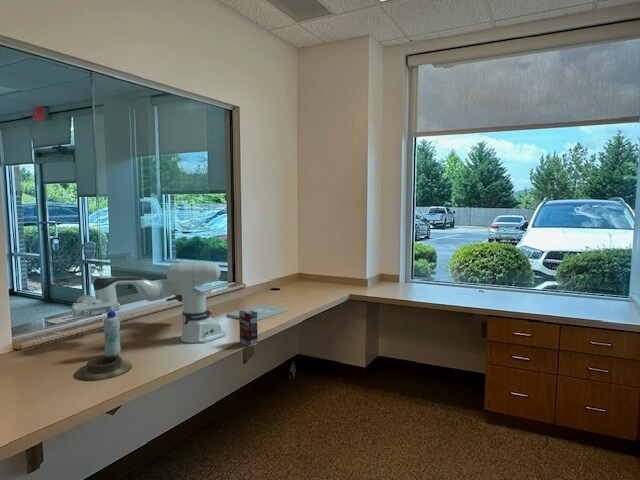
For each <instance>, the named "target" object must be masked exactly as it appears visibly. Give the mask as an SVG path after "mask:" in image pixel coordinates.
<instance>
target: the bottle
mask: <svg viewBox="0 0 640 480" xmlns="http://www.w3.org/2000/svg"><path fill="white" fill-rule="evenodd" d="M116 313H117V312H116V311H110V312H107V313H106V314H107V315H106V316H107V317H106V318H103V319H104V320H103V326H102V328H103V331H104V356H111V355H114V356H119V355H120V354H121V351H122V350H121V349H122V348H121V342H120V329H121V324H120V323H121V321H120V319H119V317H118V316H116V315H117V314H116Z"/></svg>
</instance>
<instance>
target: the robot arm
mask: <svg viewBox="0 0 640 480" xmlns="http://www.w3.org/2000/svg"><path fill="white" fill-rule="evenodd" d="M221 273H222V272H221V267H220V266H219V264H218V263H217V262H213V261H207V260H206V261H205V260H204V261H203V260H202V261H177V262H174V263H170V265H168V267H167V269H166V273H165V274H166V278H167V279H166V278H165V279H157V280H155V279H154V280H149V279H147V278H146V277H145V276H140V275H139V276H130V275H129V276H127V275H126V276H124V275H123V276H119V275H118V276H113V275H112V276H111V275H101V276H97V277H96V278H95V279H94V281H93V283H92V286H93V290H94V295H95V297H94V296H93V295H89V294H83V295H81V296H79V297H78V298H77V299H76V302H73V303H72V306H71V312H72V313H71V314H72V317H73V318H80V317H92V318H93V317H97V316H99V315H100V314H107V313H108V312H110V311H114V312H118V311H120V310H121V304H120V302H118V298H117V297H118V296H117V290H116V285H133V286H134V287H135V289H136V290H137V292H138V293H139V296H140V297H141V298H142V299H144V300H145V301H147V302H155V301H159V300H164V299H168V298H169V297H172V296H173V298H172V299H175V300H176V301H178V302H180V303H182V308H183V310H182V316H181V317H182V331H181V336H180V341H181V342H183V343H192V344H193V343H195V344H196V343H197V344H199V343H200V344H203V343H204V344H205V343H208V342H211V341H215V340H217V339H219V338H223V337H226V336H227V332H226V331H225V330H223V329H222V326H221V325H222V324H221V323H220V322H219V321H218V320H216V319H214V318H213V317H211V316H213V315H214V311H213V310H208V309H207V296H206V294H205V293H204V291H201V290H199V289H197V288H200V287H203V286H204V285H207V284H210V283H211V284H212V283H216V282H217V281H218V280H219V279H220V278H221ZM210 315H211V316H210Z"/></svg>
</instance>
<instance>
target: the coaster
mask: <svg viewBox="0 0 640 480" xmlns="http://www.w3.org/2000/svg"><path fill="white" fill-rule="evenodd" d="M132 367H133V363H132V362H131V361H130V360H127V359H123V358H122V357H121V356H119V355H118V356H117V355H116V356H114V355H111V356H106V355H102V356H98V357H94V358H92V359H89V360H88V361H87V363H86V365H85V364H84V365H83V366H81V367H79V368H78V369H77V370H76V372H75V377H76V379H79V380H81V381H89V382H91V381H92V382H93V381H104V380H107V379H109V380H110V379H113V378H116V377H120V376H122V375H124V374H126V373H128V372H129V371H130V370H131V369H132Z"/></svg>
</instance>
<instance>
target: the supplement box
mask: <svg viewBox="0 0 640 480" xmlns="http://www.w3.org/2000/svg"><path fill="white" fill-rule="evenodd" d="M245 309H246V310H243V309H241V310H242V311H239V310H238V311H239V319H238V320H239V322H238V323H239V343H240V344H243V345H246V346H248V347H253V346H256V345H258V323H257V312H254V311H250V310H247V308H245Z"/></svg>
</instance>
